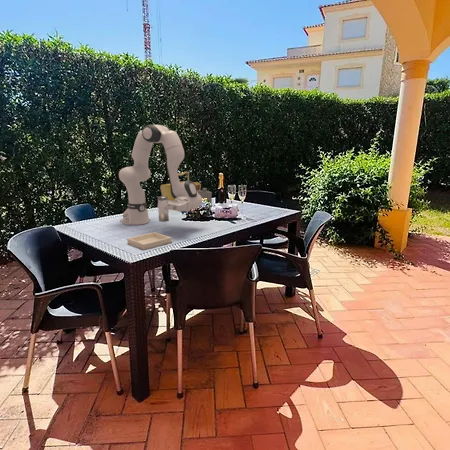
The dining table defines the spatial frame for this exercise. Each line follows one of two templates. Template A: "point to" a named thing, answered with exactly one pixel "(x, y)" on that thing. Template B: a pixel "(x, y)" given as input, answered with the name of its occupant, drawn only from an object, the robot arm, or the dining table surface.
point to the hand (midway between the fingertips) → (162, 207)
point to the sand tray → (149, 240)
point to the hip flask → (205, 194)
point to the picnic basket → (167, 188)
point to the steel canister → (163, 208)
